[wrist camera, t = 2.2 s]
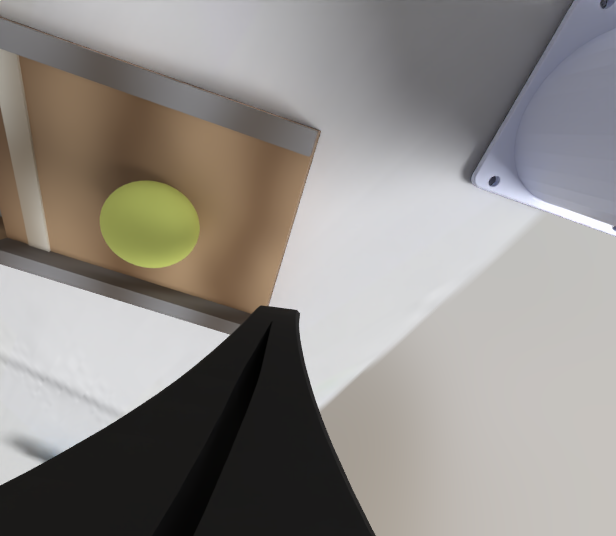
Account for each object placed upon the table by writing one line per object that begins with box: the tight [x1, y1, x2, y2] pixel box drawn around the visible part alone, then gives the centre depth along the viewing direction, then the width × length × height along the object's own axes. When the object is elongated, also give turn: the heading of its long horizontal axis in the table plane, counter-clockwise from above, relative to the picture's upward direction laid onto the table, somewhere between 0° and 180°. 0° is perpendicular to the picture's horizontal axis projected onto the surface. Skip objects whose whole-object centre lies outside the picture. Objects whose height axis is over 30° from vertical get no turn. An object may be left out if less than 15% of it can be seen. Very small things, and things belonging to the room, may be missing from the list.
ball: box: [100, 181, 200, 268], centre depth 13 cm, size 4×4×4 cm
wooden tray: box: [0, 17, 321, 335], centre depth 14 cm, size 24×12×3 cm, turn 72°
